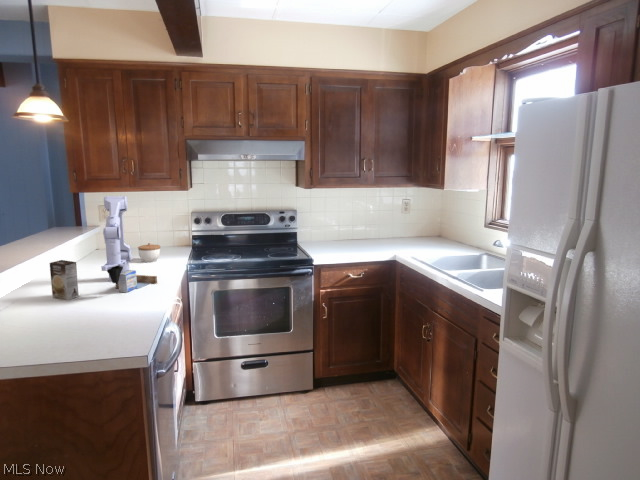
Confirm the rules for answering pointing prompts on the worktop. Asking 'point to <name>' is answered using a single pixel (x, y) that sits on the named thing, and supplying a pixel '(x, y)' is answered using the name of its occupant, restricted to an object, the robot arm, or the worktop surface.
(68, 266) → the coffee box
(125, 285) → the medicine box
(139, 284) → the pad
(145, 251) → the lidded bowl
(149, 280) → the brown wooden block
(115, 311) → the worktop surface
